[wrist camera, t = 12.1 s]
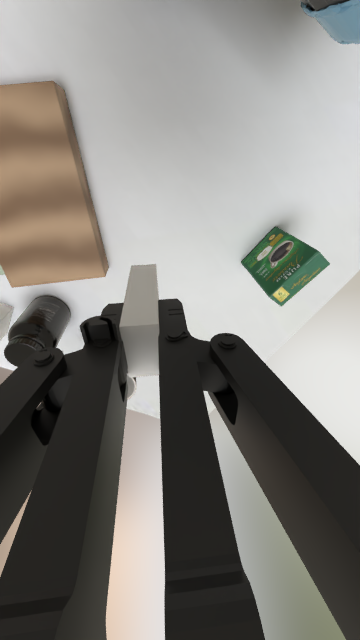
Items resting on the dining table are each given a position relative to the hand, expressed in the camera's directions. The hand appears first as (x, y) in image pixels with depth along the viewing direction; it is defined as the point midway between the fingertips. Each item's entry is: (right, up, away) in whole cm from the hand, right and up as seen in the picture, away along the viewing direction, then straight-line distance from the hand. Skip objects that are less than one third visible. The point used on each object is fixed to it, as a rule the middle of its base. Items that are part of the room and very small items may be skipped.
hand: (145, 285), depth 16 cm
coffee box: (+16, +10, +27) cm, 33 cm away
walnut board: (-18, +15, +19) cm, 30 cm away
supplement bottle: (-21, -1, +29) cm, 36 cm away
